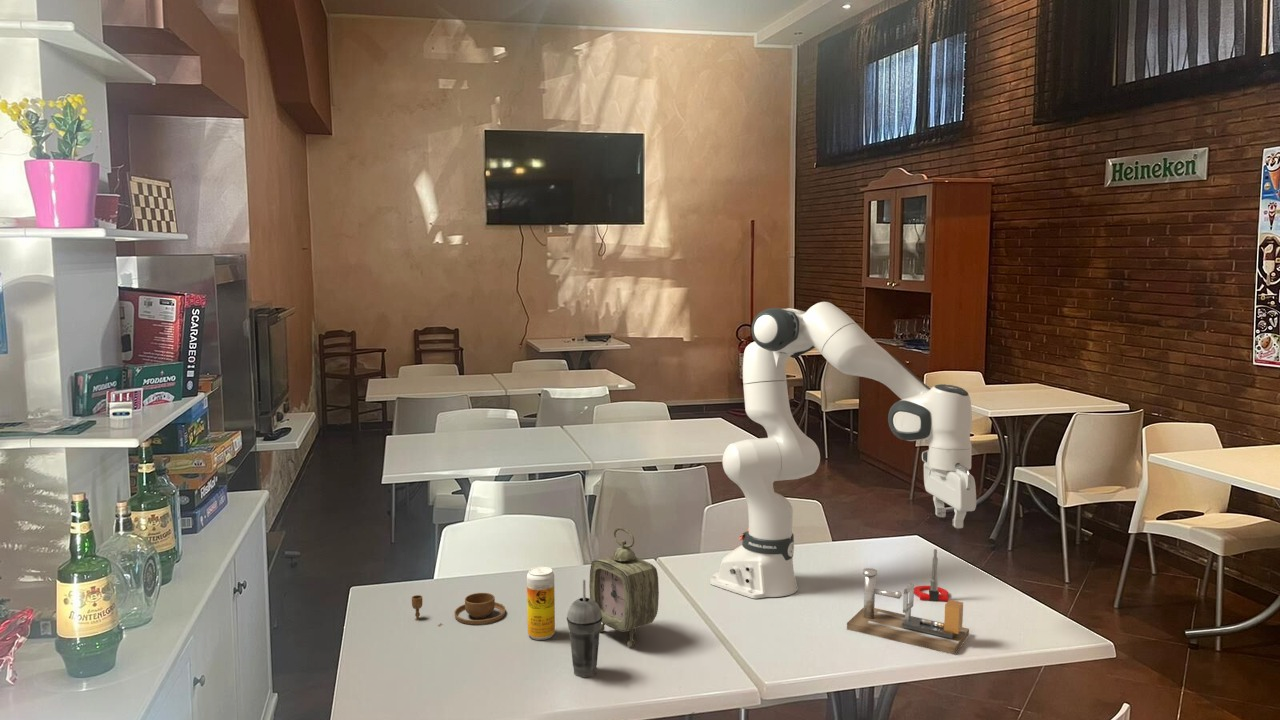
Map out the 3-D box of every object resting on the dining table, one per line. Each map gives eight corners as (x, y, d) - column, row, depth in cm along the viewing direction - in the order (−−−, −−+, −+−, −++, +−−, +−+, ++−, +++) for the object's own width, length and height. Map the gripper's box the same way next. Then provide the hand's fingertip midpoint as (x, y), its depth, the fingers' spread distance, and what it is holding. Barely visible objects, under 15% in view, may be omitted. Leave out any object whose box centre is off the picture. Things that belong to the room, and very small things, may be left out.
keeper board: (846, 629, 205) (847, 621, 205) (864, 611, 215) (865, 604, 215) (954, 654, 192) (955, 646, 192) (968, 635, 202) (969, 627, 202)
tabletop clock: (589, 631, 204) (588, 524, 201) (620, 621, 210) (620, 516, 207) (630, 652, 193) (630, 539, 190) (661, 641, 199) (662, 531, 196)
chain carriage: (901, 627, 201) (903, 590, 200) (908, 619, 206) (910, 583, 205) (956, 640, 195) (958, 601, 194) (962, 631, 199) (964, 593, 198)
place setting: (482, 636, 203) (482, 610, 202) (407, 623, 210) (406, 599, 209) (519, 608, 219) (519, 584, 218) (448, 597, 226) (448, 574, 225)
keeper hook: (859, 617, 208) (861, 571, 207) (864, 613, 210) (865, 567, 209) (898, 626, 203) (899, 579, 202) (902, 621, 206) (904, 574, 204)
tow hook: (910, 588, 231) (916, 600, 222) (912, 539, 230) (918, 549, 221) (945, 590, 230) (951, 602, 221) (946, 541, 229) (953, 551, 220)
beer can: (529, 642, 198) (528, 576, 196) (525, 631, 204) (524, 567, 202) (557, 639, 200) (556, 574, 198) (552, 628, 206) (551, 565, 204)
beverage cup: (602, 663, 188) (602, 571, 185) (602, 680, 180) (602, 584, 178) (567, 664, 187) (567, 571, 185) (566, 680, 180) (565, 584, 178)
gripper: (984, 468, 186) (983, 534, 187) (945, 451, 207) (945, 510, 208) (955, 469, 186) (954, 535, 187) (918, 451, 206) (918, 510, 207)
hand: (949, 521), depth 197 cm, fingers open, 8 cm apart
